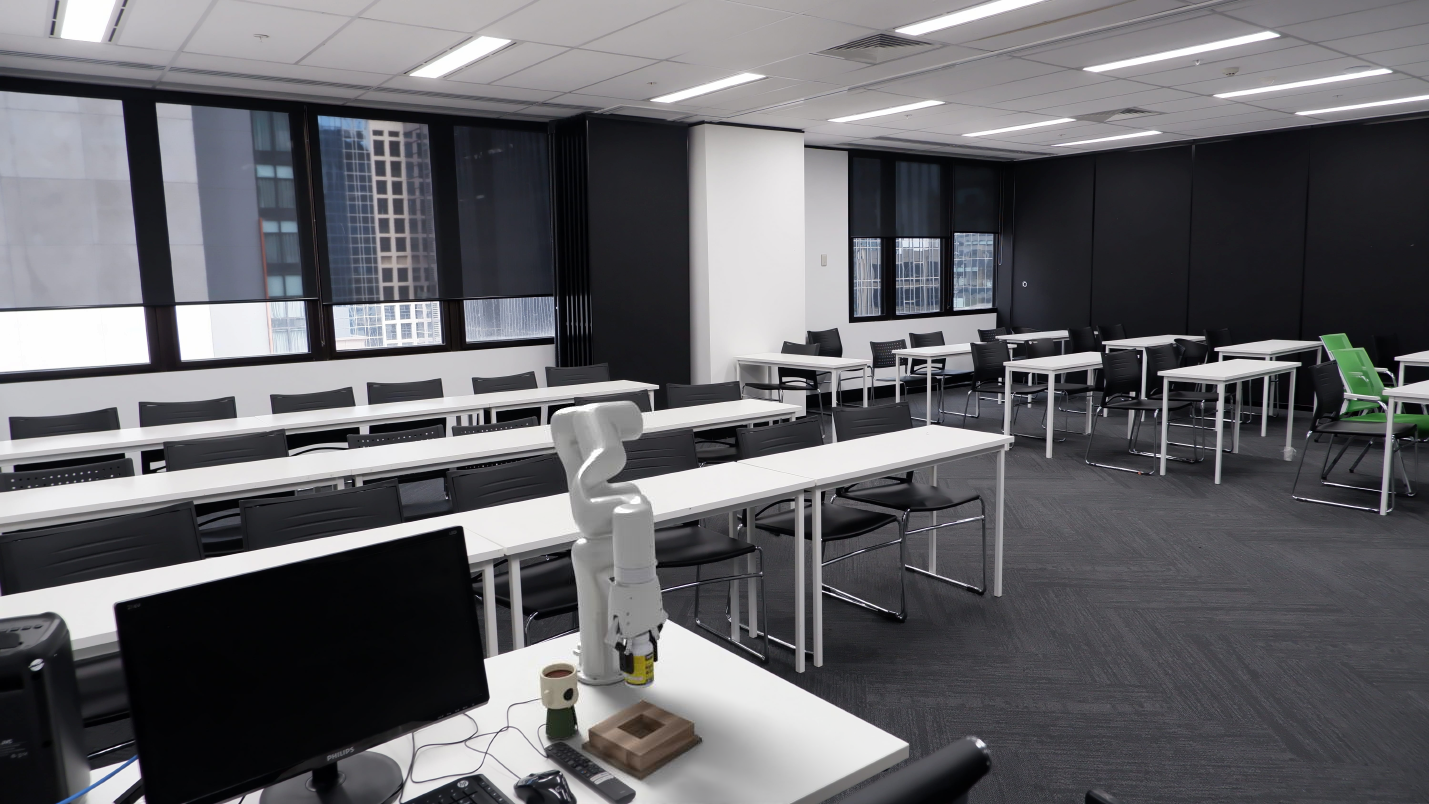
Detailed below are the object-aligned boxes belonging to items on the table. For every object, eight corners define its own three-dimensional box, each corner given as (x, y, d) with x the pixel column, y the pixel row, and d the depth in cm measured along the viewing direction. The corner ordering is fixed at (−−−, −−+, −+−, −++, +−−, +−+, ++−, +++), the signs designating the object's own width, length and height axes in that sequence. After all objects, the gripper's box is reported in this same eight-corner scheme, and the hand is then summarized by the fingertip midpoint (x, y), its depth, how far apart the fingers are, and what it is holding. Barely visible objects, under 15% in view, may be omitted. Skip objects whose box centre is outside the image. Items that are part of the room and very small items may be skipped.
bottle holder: (581, 748, 161) (580, 729, 160) (643, 713, 172) (642, 696, 172) (640, 780, 150) (639, 760, 149) (702, 741, 162) (701, 722, 161)
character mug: (565, 751, 160) (561, 686, 158) (531, 745, 162) (527, 681, 160) (591, 721, 170) (587, 659, 168) (558, 716, 172) (555, 655, 170)
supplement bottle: (650, 690, 156) (647, 639, 154) (621, 688, 157) (618, 638, 156) (657, 676, 161) (655, 627, 160) (630, 674, 162) (627, 625, 161)
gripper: (654, 555, 165) (657, 644, 167) (585, 580, 152) (590, 676, 155) (682, 563, 160) (685, 655, 163) (613, 590, 147) (618, 689, 150)
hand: (639, 664), depth 159 cm, fingers closed on supplement bottle, 5 cm apart
